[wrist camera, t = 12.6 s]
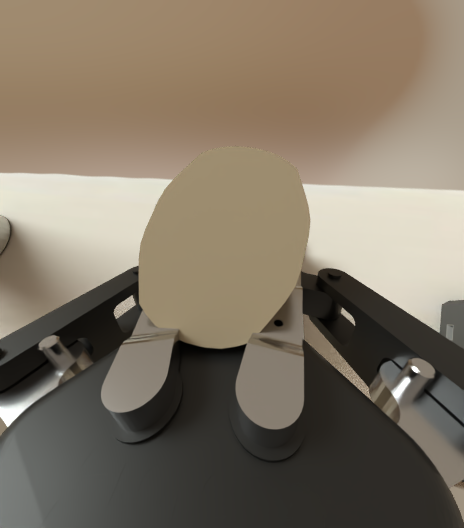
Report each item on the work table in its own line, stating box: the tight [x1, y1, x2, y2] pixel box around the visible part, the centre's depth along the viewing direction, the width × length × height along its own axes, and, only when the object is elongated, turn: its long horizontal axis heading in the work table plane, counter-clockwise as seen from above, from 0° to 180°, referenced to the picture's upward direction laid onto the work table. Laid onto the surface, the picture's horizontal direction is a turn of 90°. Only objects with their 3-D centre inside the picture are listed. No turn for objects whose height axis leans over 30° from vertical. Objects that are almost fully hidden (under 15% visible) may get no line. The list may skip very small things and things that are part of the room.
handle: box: [139, 146, 310, 349], centre depth 13 cm, size 5×6×15 cm
